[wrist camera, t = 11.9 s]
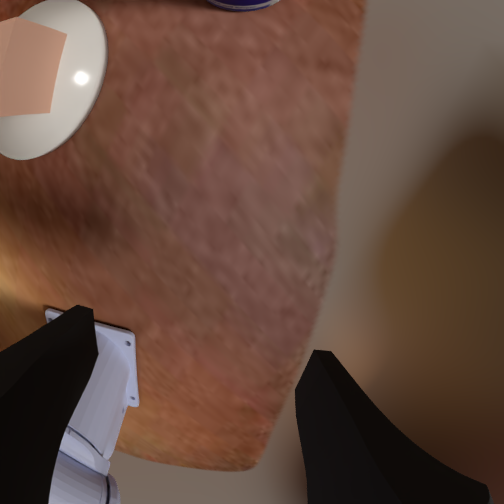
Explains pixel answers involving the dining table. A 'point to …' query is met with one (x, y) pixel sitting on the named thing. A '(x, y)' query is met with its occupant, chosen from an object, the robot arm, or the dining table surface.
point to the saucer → (61, 81)
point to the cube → (28, 66)
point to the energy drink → (242, 4)
